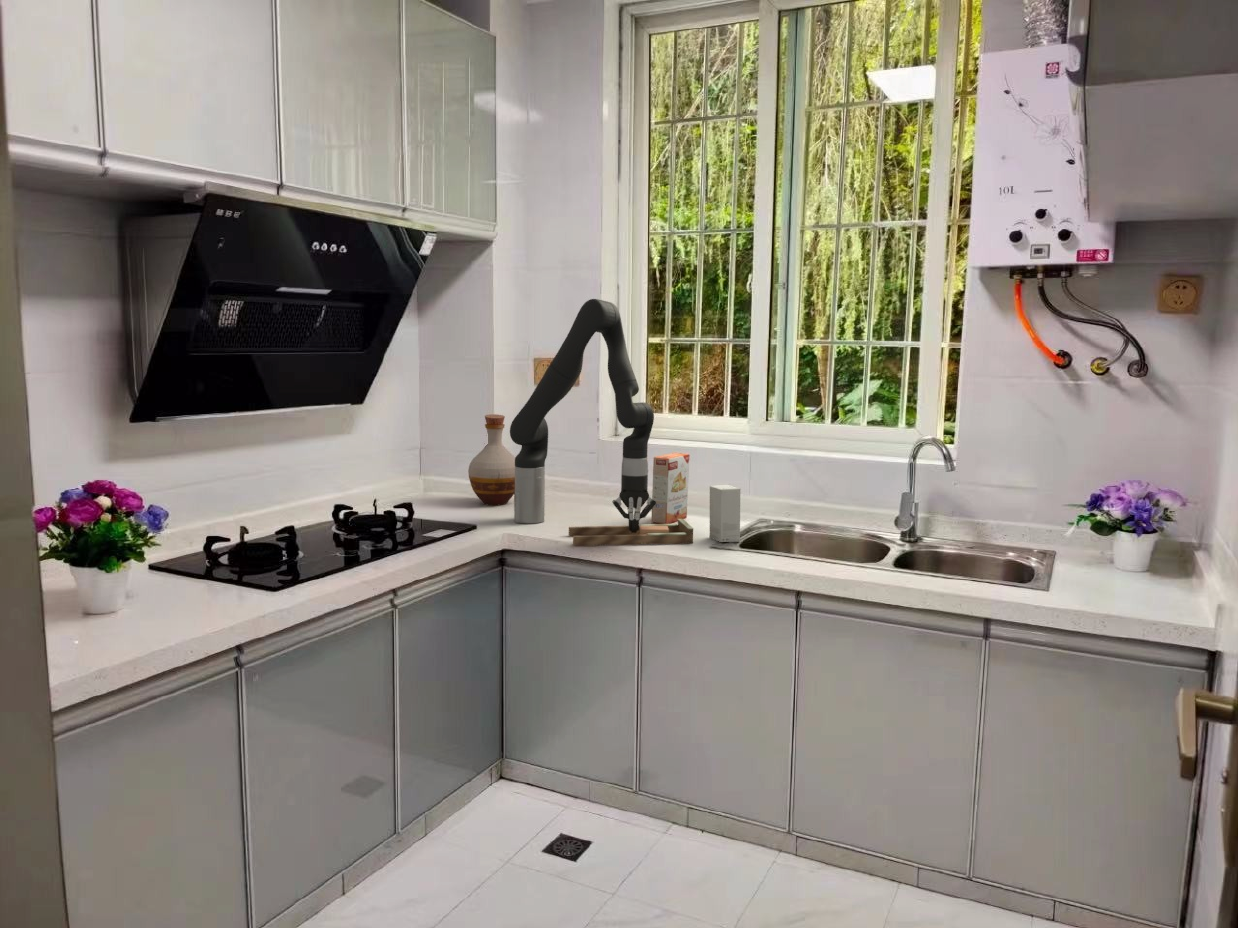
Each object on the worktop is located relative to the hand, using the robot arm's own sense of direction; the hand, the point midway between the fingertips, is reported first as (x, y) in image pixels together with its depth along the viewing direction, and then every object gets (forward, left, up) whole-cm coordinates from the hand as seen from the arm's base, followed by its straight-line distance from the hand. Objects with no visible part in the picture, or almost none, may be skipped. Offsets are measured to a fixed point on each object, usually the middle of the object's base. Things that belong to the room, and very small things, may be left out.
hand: (633, 532), depth 267 cm
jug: (-38, +57, -2) cm, 69 cm away
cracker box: (+16, +24, -2) cm, 29 cm away
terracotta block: (+6, -2, -2) cm, 6 cm away
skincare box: (+26, -3, -2) cm, 26 cm away
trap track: (-1, 0, -2) cm, 2 cm away
